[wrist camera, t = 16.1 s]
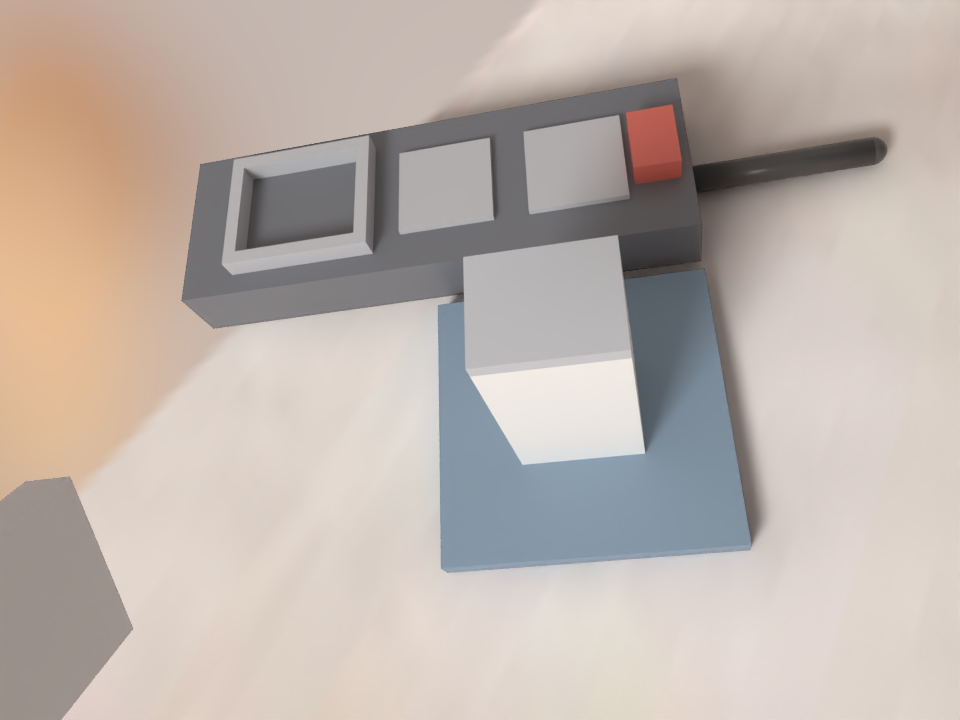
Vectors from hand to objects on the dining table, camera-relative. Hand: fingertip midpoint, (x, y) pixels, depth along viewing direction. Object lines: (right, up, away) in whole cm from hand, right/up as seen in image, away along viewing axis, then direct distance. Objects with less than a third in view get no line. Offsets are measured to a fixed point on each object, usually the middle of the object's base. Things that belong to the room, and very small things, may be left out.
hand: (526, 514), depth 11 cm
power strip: (+2, +9, +29) cm, 31 cm away
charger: (+4, 0, +23) cm, 24 cm away
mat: (+4, -1, +24) cm, 25 cm away
